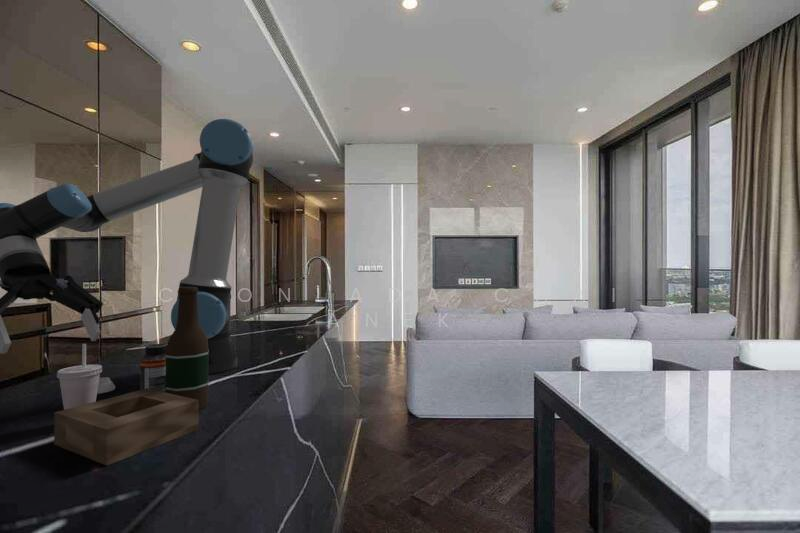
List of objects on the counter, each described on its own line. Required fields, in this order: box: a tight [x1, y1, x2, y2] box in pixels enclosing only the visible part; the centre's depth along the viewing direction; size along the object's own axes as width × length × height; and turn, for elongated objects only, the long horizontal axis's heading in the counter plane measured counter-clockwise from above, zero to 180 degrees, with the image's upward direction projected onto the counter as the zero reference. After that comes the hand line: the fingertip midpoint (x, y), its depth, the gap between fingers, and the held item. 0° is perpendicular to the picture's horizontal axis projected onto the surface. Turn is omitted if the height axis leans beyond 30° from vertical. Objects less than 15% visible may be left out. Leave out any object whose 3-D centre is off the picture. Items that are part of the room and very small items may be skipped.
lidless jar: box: [97, 377, 116, 395], centre depth 89 cm, size 5×3×5 cm
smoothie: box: [56, 343, 103, 410], centre depth 70 cm, size 6×6×14 cm
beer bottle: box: [166, 287, 209, 411], centre depth 78 cm, size 8×8×24 cm
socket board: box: [53, 389, 200, 466], centre depth 64 cm, size 14×15×5 cm
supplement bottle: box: [139, 343, 168, 393], centre depth 84 cm, size 6×6×11 cm
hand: (54, 342), depth 74 cm, fingers open, 13 cm apart
